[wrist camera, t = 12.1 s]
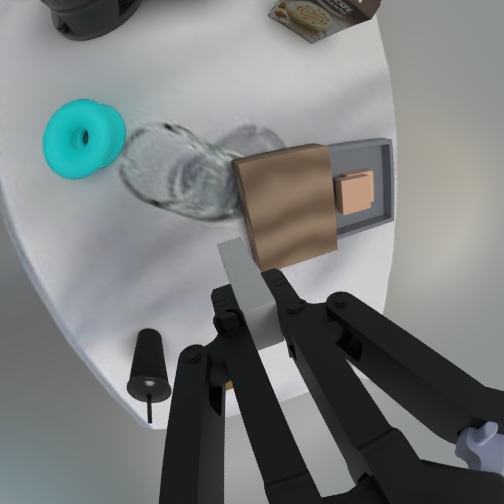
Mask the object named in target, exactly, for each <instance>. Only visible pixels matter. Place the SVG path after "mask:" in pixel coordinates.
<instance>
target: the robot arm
mask: <svg viewBox="0 0 504 504" xmlns="http://www.w3.org/2000/svg"><path fill="white" fill-rule="evenodd" d="M41 1H42V2H43V3H44V4H45V5H47V6H48V7H49V8H50V9H51V14H52V20H53V24H54V26H55V28H56V29H57V31H58V32H60V33H61V34H62V35H63V36H65V37H67V38H69V39H72V40H89V39H93V38H97V37H100V36H102V35H105V34H107V33H109V32H111V31H112V30H114V29H116V28H117V27H119V26H120V25H122V24H123V23H124V22H125V21H127V20H128V19H129V18H130V17H131V16H132V15H133V14H134V12H135V11H136V10H137V8H138V7H139V5H140V3H141V1H142V0H41ZM217 246H218V249H219V252H220V255H221V258H222V261H223V264H224V267H225V270H226V273H227V276H228V279H229V282H230V284H228V285H225V286H222V287H219V288H216V289H213V291H212V294H211V299H212V303H213V307H214V311H215V316H214V318H213V324H214V326H215V328H216V330H217V332H218V335H217V337H216V338H215V339H214V340H213V341H212V342H211V343H209V344H208V345H206V346H202V345H197V344H194V345H191V346H188V347H186V348H185V349H184V350H183V351H182V352H181V353H180V356H179V359H178V365H177V370H176V376H175V382H174V388H173V394H172V400H171V406H170V413H169V420H168V427H167V434H166V441H165V450H164V457H163V467H162V475H161V486H160V496H159V504H224V438H225V437H224V436H225V433H224V432H225V431H224V430H225V394H226V383H228V382H229V381H231V382H232V385H233V388H234V392H235V395H236V399H237V402H238V405H239V409H240V412H241V415H242V418H243V422H244V425H245V428H246V431H247V434H248V437H249V440H250V443H251V446H252V449H253V452H254V455H255V458H256V461H257V464H258V467H259V470H260V472H261V475H262V478H263V481H264V489H265V493H266V496H267V499H268V502H269V504H504V477H503V476H502V475H501V472H502V469H503V466H504V391H500V390H497V389H493V388H489V387H485V386H483V385H482V384H481V383H479V382H478V381H477V380H475V379H474V378H472V377H471V376H470V375H468V374H467V373H465V372H464V371H462V370H461V369H460V368H458V367H457V366H456V365H454V364H453V363H451V362H450V361H448V360H447V359H446V358H444V357H443V356H441V355H440V354H439V353H437V352H436V351H434V350H433V349H431V348H430V347H428V346H427V345H425V344H424V343H422V342H421V341H420V340H418V339H417V338H415V337H414V336H412V335H411V334H410V333H408V332H407V331H405V330H403V329H402V328H401V327H399V326H398V325H396V324H395V323H393V322H392V321H390V320H389V319H387V318H386V317H384V316H383V315H382V314H380V313H379V312H377V311H376V310H374V309H373V308H371V307H370V306H368V305H367V304H365V303H364V302H362V301H361V300H359V299H358V298H356V297H355V296H353V295H352V294H350V293H347V292H335V293H333V294H331V295H330V296H329V297H328V298H327V300H326V302H324V303H317V304H311V303H307V302H306V301H305V300H303V299H300V298H299V296H298V295H297V293H296V292H295V290H294V289H293V287H292V286H291V285H290V283H289V282H288V280H287V279H286V278H285V276H284V274H283V273H282V271H280V270H278V269H276V268H272V269H270V270H267V271H264V272H261V273H260V272H259V270H258V268H257V267H256V265H255V263H254V261H253V259H252V258H251V256H250V254H249V252H248V250H247V249H246V247H245V245H244V243H243V241H242V240H241V238H240V237H238V238H235V239H232V240H229V241H226V242H223V243H220V244H217ZM283 336H284V337H283ZM284 338H285V340H286V342H287V347H288V352H289V356H290V358H291V357H292V358H293V360H294V362H295V364H296V366H297V368H298V370H299V372H300V374H301V376H302V378H303V380H304V382H305V384H306V386H307V388H308V390H309V391H310V393H311V395H312V397H313V399H314V401H315V403H316V405H317V407H318V409H319V411H320V413H321V415H322V417H323V419H324V420H325V423H326V425H327V426H328V428H329V430H330V432H331V434H332V436H333V438H334V440H335V442H336V444H337V446H338V448H339V450H340V451H341V453H342V455H343V457H344V459H345V461H346V463H347V466H348V470H349V473H350V475H351V477H352V479H353V481H354V482H355V484H356V486H355V487H354V488H352V489H351V490H350V491H348V492H346V493H342V494H337V495H332V496H327V497H322V498H321V496H320V493H319V492H318V490H317V487H316V485H315V483H314V481H313V479H312V477H311V474H310V472H309V471H308V469H307V467H306V464H305V462H304V460H303V458H302V456H301V453H300V451H299V449H298V447H297V445H296V442H295V440H294V438H293V435H292V433H291V431H290V429H289V426H288V424H287V421H286V419H285V417H284V414H283V412H282V410H281V407H280V405H279V402H278V400H277V398H276V395H275V393H274V390H273V388H272V386H271V383H270V381H269V378H268V376H267V373H266V371H265V368H264V366H263V364H262V361H261V359H260V356H259V354H258V350H261V349H264V348H266V347H269V346H272V345H275V344H277V343H280V342H283V341H284ZM346 359H347V360H348V361H349V362H350V363H351V364H353V365H354V366H355V367H356V368H357V369H358V370H360V371H361V372H362V373H363V374H364V375H365V376H367V377H368V378H369V379H370V380H371V381H372V382H374V383H375V384H376V385H377V386H378V387H379V388H381V389H382V390H383V391H384V392H385V393H387V394H388V395H389V396H390V397H391V398H393V399H394V400H395V401H396V402H397V403H399V404H400V405H401V406H402V407H403V408H404V409H406V410H407V411H408V412H409V413H410V414H412V415H413V416H414V417H415V418H416V419H418V420H419V421H420V422H421V423H423V424H424V425H425V426H426V427H427V428H429V429H430V430H431V431H432V432H433V433H435V434H436V435H438V436H439V437H441V438H442V439H444V440H446V441H448V442H450V443H453V444H456V450H455V455H456V456H457V457H459V458H461V459H462V460H464V461H465V462H466V463H467V464H468V467H469V469H466V468H460V467H455V466H449V465H444V464H440V463H436V462H431V461H427V460H422V459H419V457H418V456H417V454H416V453H415V451H414V450H413V448H412V447H411V445H410V443H409V442H408V440H407V439H406V438H405V436H404V435H403V433H402V432H401V431H400V430H399V429H397V428H394V427H392V426H390V424H389V423H388V422H387V420H386V419H385V417H384V416H383V414H382V413H381V411H380V409H379V408H378V406H377V405H376V404H375V402H374V400H373V399H372V397H371V396H370V394H369V393H368V391H367V390H366V388H365V387H364V386H363V384H362V382H361V381H360V379H359V378H358V376H357V375H356V373H355V372H354V370H353V369H352V367H351V366H350V364H349V363H348V361H347V360H346Z"/></svg>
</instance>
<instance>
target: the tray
mask: <svg viewBox="0 0 504 504" xmlns="http://www.w3.org/2000/svg"><path fill="white" fill-rule="evenodd" d="M326 146H328V147H329V155H330V163H331V171H332V181H333V191H334V202H335V215H336V230H337V240H338V239H341V238H344V237H347V236H350V235H353V234H356V233H359V232H362V231H365V230H368V229H371V228H374V227H377V226H380V225H383V224H386V223H389V222H392V221H394V164H393V147H392V139H385V138H376V139H368V140H359V141H352V142H345V143H338V144H331V145H326ZM366 168H367V169H370V170H373V183H374V201H373V202H371V208H368V209H365V210H361V211H358V212H354V213H350V214H347V215H342V214H340V213H339V212H338V211H337V197H336V185H335V179H337V178H341V173H345V172H350V171H355V170H361V169H366Z"/></svg>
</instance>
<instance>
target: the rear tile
mask: <svg viewBox="0 0 504 504" xmlns="http://www.w3.org/2000/svg"><path fill="white" fill-rule="evenodd" d="M362 173H363V174H366V175H369V176H370V201H371V202H373V201H374V183H373V170H370V169H367V168H366V169H361V170H355V171H350V172H345V173H341V178H342V177H347V176H351V175H356V174H362Z"/></svg>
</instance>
